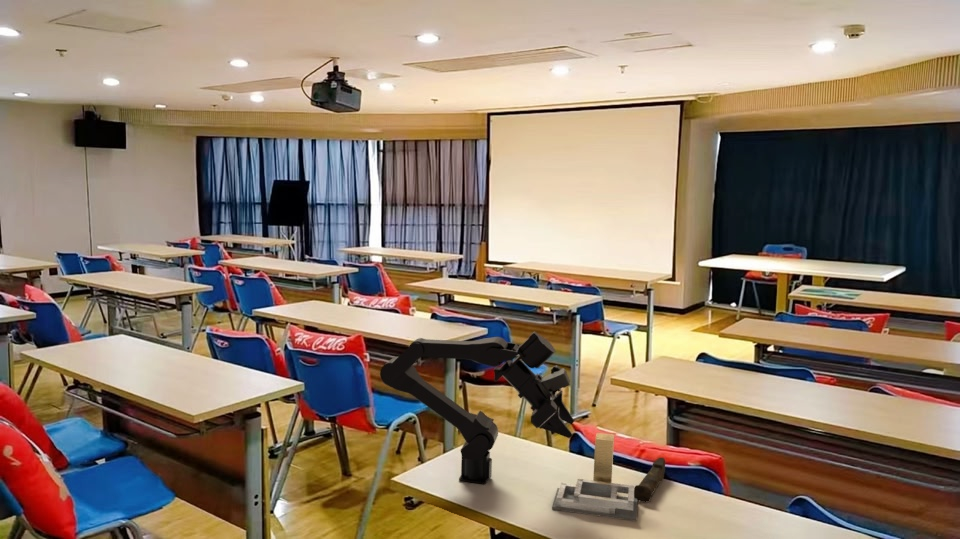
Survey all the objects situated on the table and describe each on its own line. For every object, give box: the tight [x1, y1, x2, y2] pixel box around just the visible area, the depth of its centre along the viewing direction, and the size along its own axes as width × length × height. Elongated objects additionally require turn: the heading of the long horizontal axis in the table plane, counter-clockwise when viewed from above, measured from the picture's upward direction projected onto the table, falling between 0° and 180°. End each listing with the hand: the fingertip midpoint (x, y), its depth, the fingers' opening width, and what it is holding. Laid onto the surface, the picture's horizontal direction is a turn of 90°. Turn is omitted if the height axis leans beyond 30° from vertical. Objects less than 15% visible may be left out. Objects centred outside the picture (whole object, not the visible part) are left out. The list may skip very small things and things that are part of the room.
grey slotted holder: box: [556, 478, 635, 515], centre depth 147 cm, size 16×9×3 cm, turn 76°
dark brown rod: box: [634, 457, 666, 503], centre depth 157 cm, size 19×4×5 cm, turn 148°
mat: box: [551, 487, 638, 522], centre depth 147 cm, size 18×10×1 cm, turn 76°
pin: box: [592, 432, 615, 483], centre depth 154 cm, size 4×4×13 cm
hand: (572, 429), depth 154 cm, fingers open, 9 cm apart
